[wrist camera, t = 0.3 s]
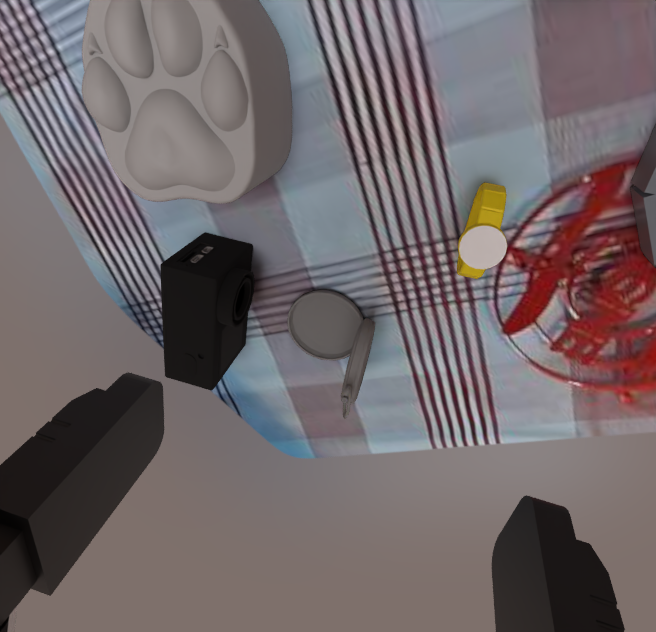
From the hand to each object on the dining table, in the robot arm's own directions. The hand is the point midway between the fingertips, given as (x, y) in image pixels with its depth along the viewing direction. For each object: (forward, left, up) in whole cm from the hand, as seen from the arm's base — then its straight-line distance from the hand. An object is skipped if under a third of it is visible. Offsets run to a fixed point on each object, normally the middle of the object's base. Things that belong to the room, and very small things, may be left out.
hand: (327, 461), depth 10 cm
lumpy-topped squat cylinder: (+3, -15, -26) cm, 30 cm away
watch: (-1, +5, -26) cm, 27 cm away
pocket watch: (+13, +3, -26) cm, 30 cm away
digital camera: (+17, -6, -26) cm, 32 cm away
